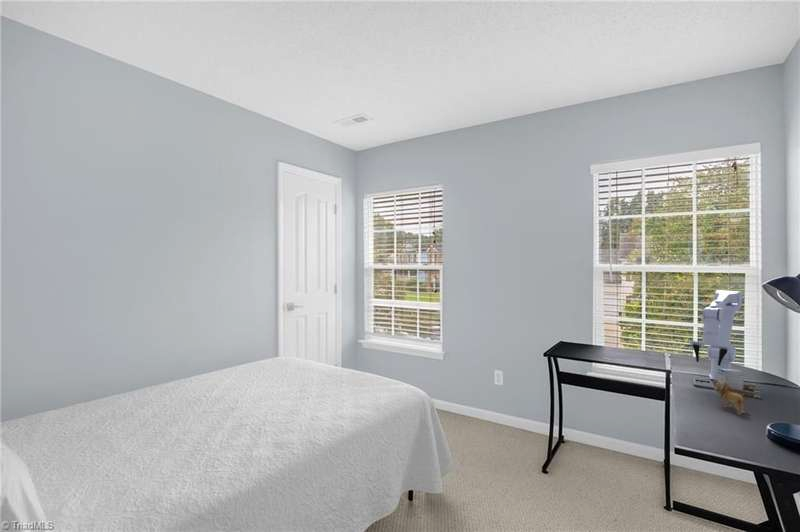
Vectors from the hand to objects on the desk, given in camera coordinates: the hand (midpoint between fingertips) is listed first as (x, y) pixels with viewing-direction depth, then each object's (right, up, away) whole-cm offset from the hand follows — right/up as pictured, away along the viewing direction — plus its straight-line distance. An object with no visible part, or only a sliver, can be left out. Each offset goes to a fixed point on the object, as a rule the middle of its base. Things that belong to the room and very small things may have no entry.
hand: (708, 363), depth 176 cm
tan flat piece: (+8, -11, -5) cm, 14 cm away
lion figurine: (-14, -10, -29) cm, 34 cm away
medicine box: (+7, -11, -4) cm, 13 cm away
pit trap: (-1, -10, +1) cm, 10 cm away
